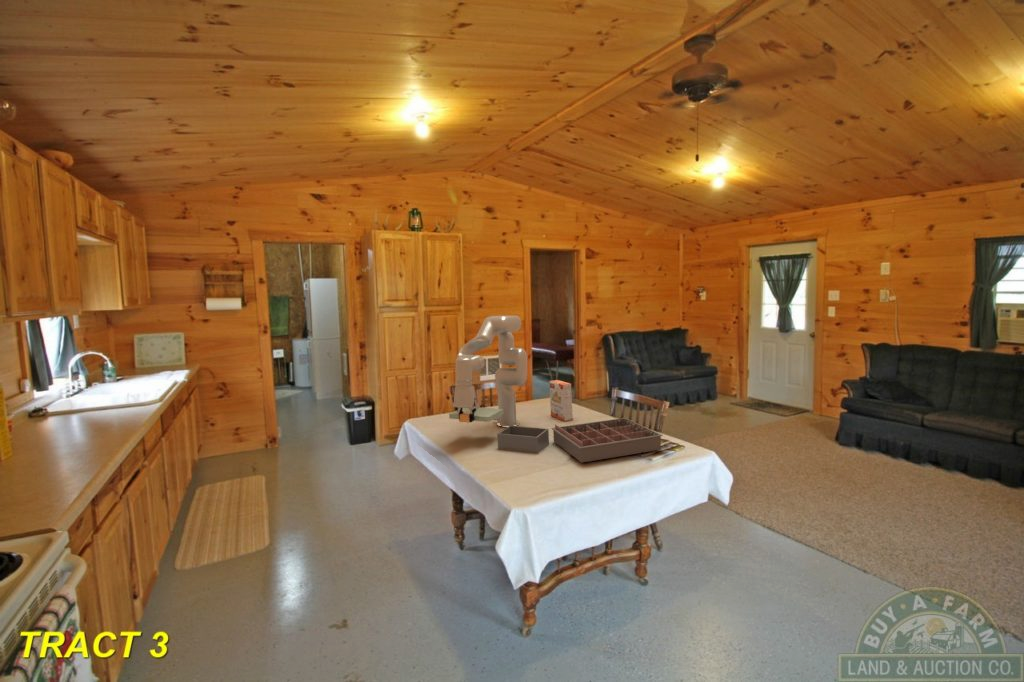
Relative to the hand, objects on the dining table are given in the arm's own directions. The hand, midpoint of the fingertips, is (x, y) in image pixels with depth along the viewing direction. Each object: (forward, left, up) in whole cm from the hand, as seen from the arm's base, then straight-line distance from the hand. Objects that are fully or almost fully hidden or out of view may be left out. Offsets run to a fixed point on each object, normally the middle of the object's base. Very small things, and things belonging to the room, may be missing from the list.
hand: (466, 420), depth 237 cm
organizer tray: (+62, +18, -14) cm, 66 cm away
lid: (0, +8, 0) cm, 8 cm away
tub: (+26, +7, -13) cm, 30 cm away
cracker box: (+26, +60, -13) cm, 67 cm away
